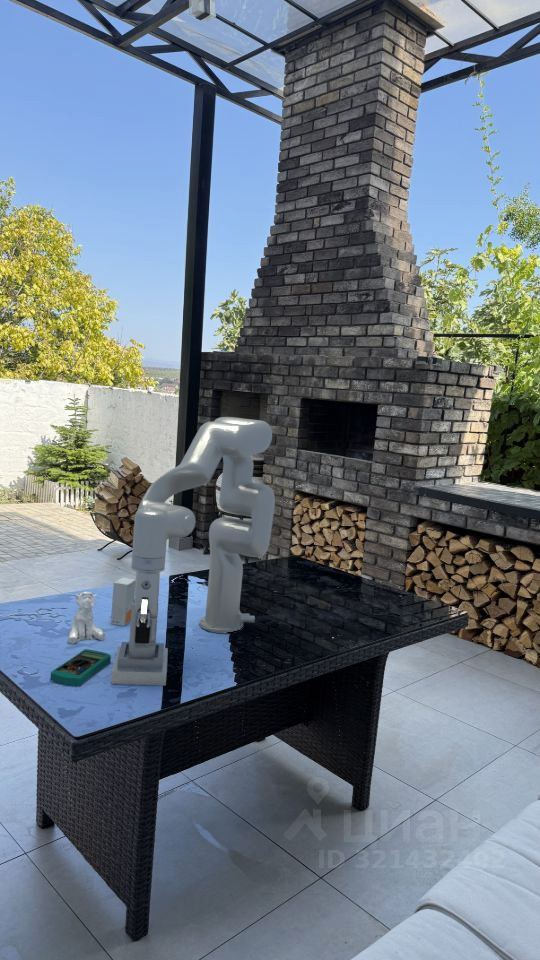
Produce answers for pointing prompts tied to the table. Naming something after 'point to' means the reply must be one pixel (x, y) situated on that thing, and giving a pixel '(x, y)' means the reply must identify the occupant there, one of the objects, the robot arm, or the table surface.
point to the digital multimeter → (80, 667)
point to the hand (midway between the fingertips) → (143, 635)
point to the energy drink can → (140, 648)
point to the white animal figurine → (84, 620)
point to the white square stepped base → (140, 667)
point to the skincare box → (122, 601)
